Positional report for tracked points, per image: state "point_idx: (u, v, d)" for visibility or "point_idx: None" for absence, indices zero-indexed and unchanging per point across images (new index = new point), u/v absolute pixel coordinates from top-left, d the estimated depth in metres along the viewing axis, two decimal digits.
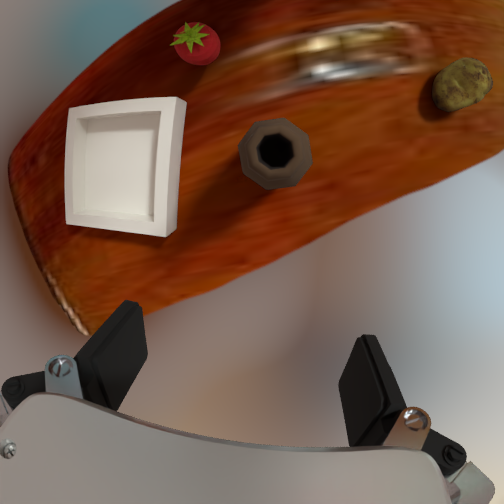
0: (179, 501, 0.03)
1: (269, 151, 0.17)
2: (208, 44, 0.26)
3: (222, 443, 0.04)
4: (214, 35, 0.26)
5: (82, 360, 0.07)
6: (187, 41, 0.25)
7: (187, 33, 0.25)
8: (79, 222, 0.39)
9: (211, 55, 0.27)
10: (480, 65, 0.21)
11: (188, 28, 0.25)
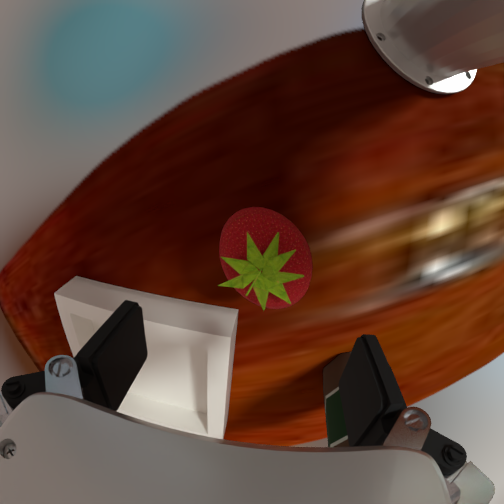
0: (179, 501, 0.03)
1: None
2: (296, 288, 0.17)
3: (222, 443, 0.04)
4: (307, 262, 0.17)
5: (82, 360, 0.07)
6: (255, 285, 0.17)
7: (254, 265, 0.16)
8: None
9: (297, 301, 0.19)
10: None
11: (256, 253, 0.16)
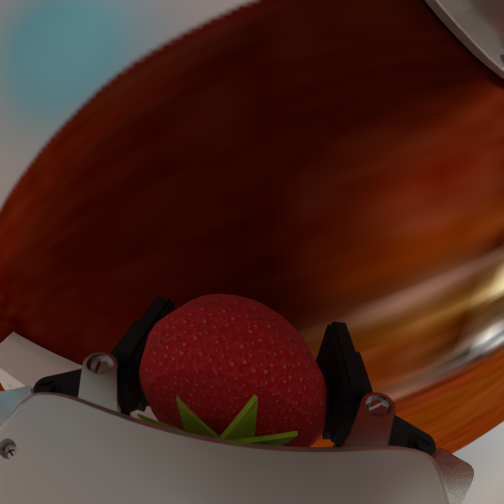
0: (179, 501, 0.03)
1: None
2: None
3: (222, 443, 0.04)
4: (319, 417, 0.07)
5: (122, 356, 0.08)
6: None
7: None
8: None
9: None
10: None
11: (205, 433, 0.06)
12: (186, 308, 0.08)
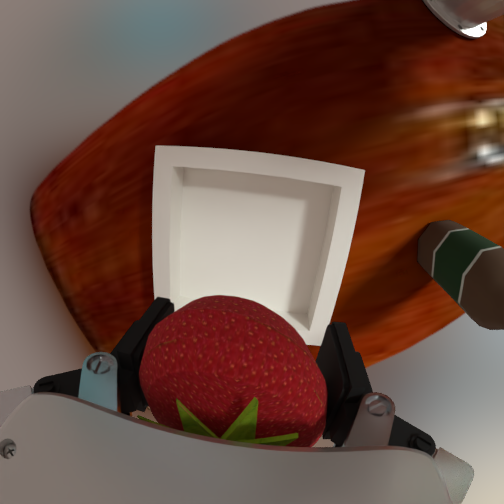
0: (179, 501, 0.03)
1: None
2: None
3: (222, 443, 0.04)
4: (319, 419, 0.07)
5: (122, 356, 0.08)
6: None
7: None
8: None
9: None
10: None
11: (205, 435, 0.06)
12: (186, 310, 0.08)
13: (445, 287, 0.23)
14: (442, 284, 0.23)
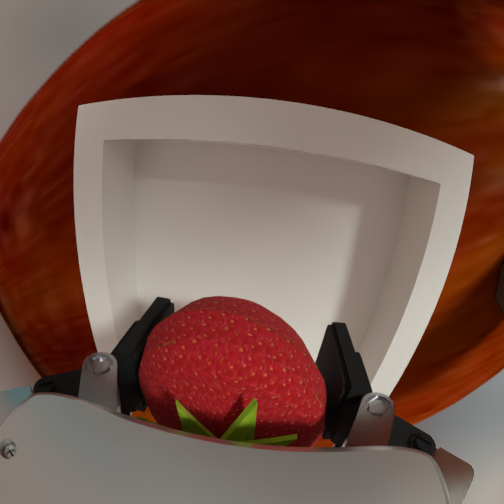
0: (179, 501, 0.03)
1: None
2: None
3: (222, 443, 0.04)
4: (318, 420, 0.07)
5: (122, 356, 0.08)
6: None
7: None
8: None
9: None
10: None
11: None
12: (185, 311, 0.08)
13: None
14: None
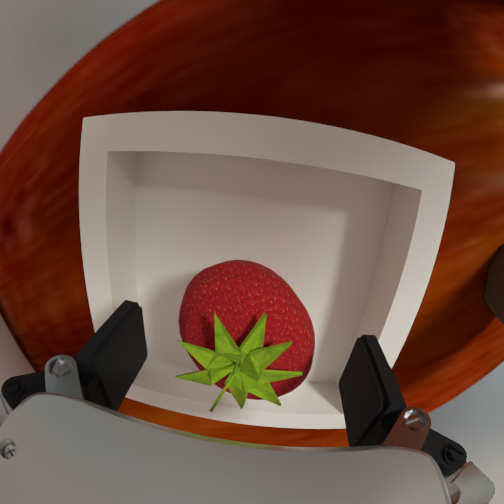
0: (179, 501, 0.03)
1: None
2: (289, 382, 0.11)
3: (222, 443, 0.04)
4: (308, 348, 0.11)
5: (82, 360, 0.07)
6: (229, 382, 0.10)
7: (226, 357, 0.10)
8: (147, 400, 0.18)
9: (290, 390, 0.12)
10: None
11: (229, 345, 0.10)
12: (218, 264, 0.12)
13: None
14: None
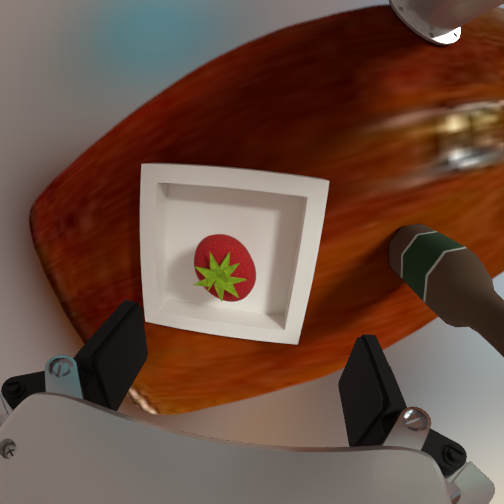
0: (179, 501, 0.03)
1: None
2: (243, 287, 0.27)
3: (222, 443, 0.04)
4: (250, 271, 0.27)
5: (82, 360, 0.07)
6: (215, 285, 0.26)
7: (214, 272, 0.26)
8: (168, 322, 0.33)
9: None
10: None
11: (215, 265, 0.25)
12: (211, 235, 0.27)
13: (412, 287, 0.26)
14: (410, 285, 0.26)
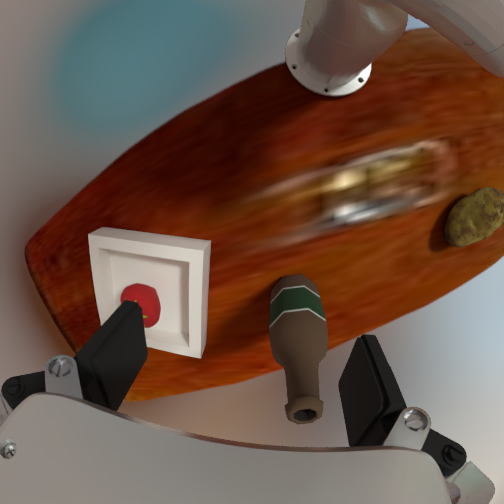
0: (179, 501, 0.03)
1: None
2: (148, 320, 0.38)
3: (222, 443, 0.04)
4: (151, 310, 0.38)
5: (82, 360, 0.07)
6: None
7: None
8: None
9: (153, 325, 0.40)
10: (500, 204, 0.27)
11: None
12: (129, 285, 0.39)
13: None
14: None
